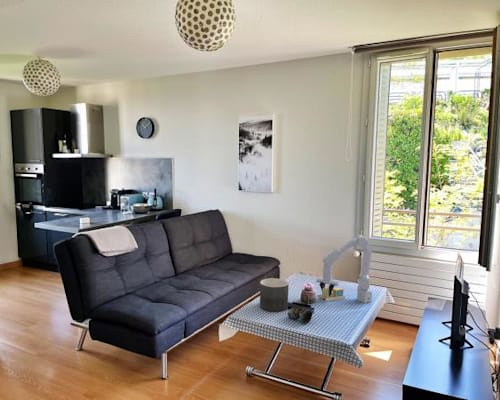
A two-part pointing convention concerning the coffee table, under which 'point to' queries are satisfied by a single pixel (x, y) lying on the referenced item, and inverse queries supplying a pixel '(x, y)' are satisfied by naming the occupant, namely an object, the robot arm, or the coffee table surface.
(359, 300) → the robot arm
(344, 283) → the coffee table surface
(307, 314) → the figurine
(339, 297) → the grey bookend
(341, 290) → the carton faced
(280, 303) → the planter
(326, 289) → the carton
